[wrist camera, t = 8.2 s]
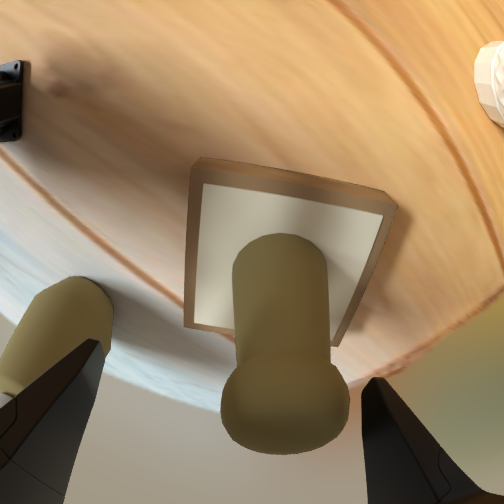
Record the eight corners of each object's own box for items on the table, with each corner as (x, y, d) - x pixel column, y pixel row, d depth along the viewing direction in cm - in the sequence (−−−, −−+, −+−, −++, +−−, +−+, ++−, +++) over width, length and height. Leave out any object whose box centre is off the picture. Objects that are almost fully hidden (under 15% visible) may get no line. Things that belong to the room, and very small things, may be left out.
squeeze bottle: (116, 343, 28) (55, 503, 12) (51, 307, 26) (-32, 448, 10) (134, 291, 24) (45, 497, 8) (56, 248, 22) (-68, 414, 7)
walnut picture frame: (190, 305, 24) (183, 328, 22) (200, 157, 18) (190, 168, 16) (333, 325, 25) (338, 348, 22) (383, 191, 18) (398, 206, 16)
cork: (336, 298, 20) (370, 452, 10) (251, 320, 21) (241, 471, 12) (314, 219, 17) (360, 388, 7) (215, 250, 18) (172, 417, 9)
